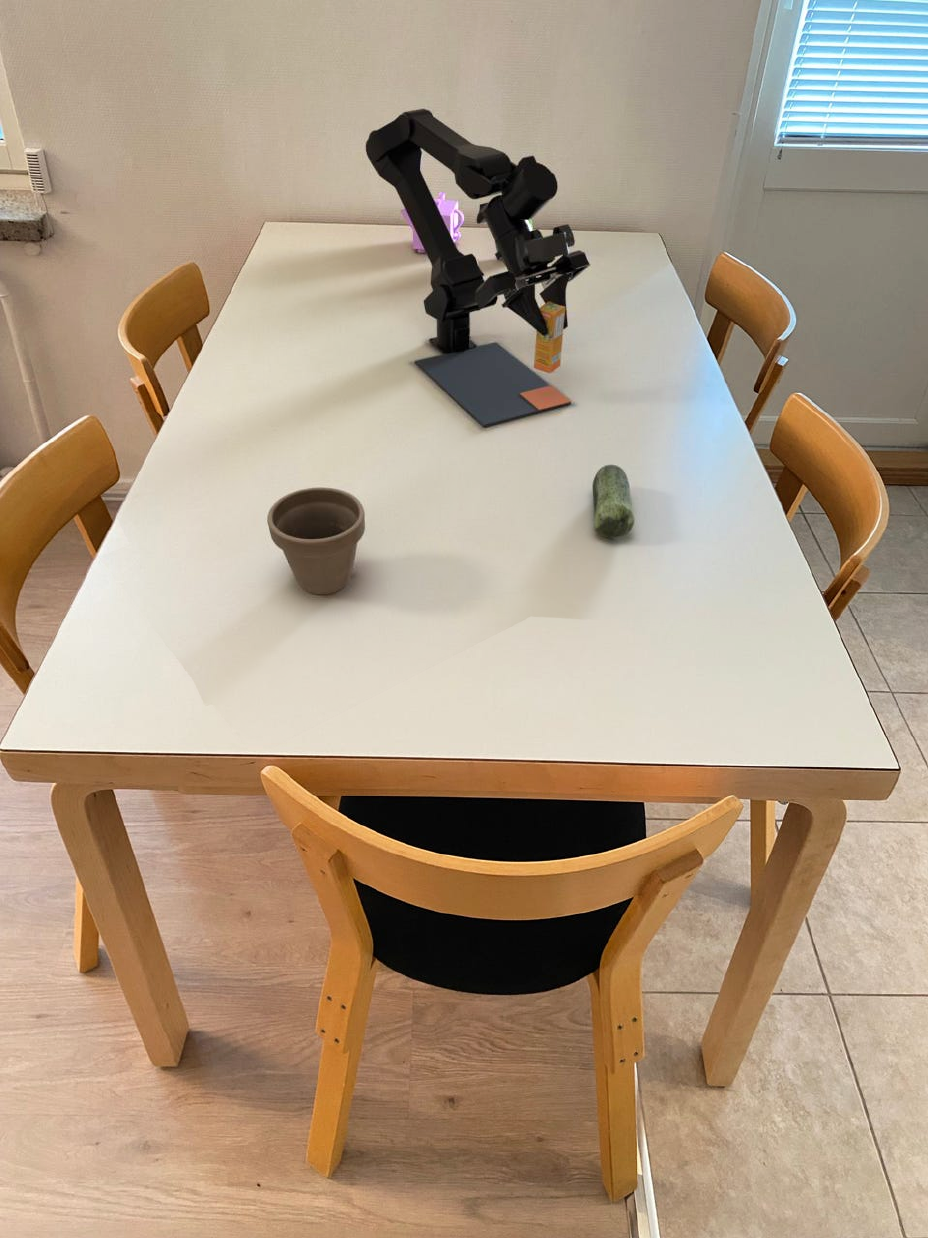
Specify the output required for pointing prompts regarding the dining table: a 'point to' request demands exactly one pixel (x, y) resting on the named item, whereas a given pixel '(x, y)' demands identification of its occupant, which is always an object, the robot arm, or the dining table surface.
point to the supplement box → (550, 338)
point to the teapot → (449, 216)
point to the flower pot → (318, 536)
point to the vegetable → (612, 502)
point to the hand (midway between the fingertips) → (555, 331)
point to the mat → (491, 384)
